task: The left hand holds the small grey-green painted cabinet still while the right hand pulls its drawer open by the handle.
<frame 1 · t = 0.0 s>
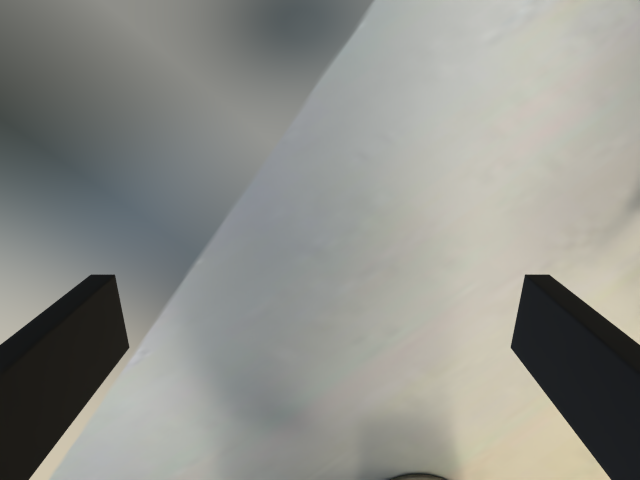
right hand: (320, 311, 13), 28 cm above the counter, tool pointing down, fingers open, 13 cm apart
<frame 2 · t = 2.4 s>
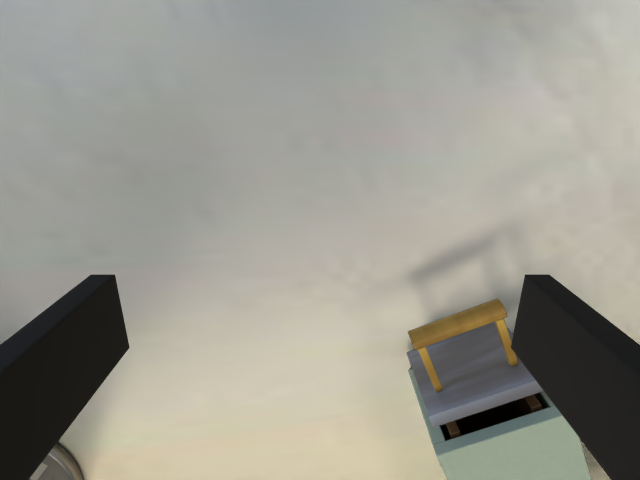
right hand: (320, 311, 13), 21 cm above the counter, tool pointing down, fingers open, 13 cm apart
drawer: (490, 424, 35), point 5 cm above the counter, slide at 1.6 cm
cabinet: (487, 430, 42), on the counter
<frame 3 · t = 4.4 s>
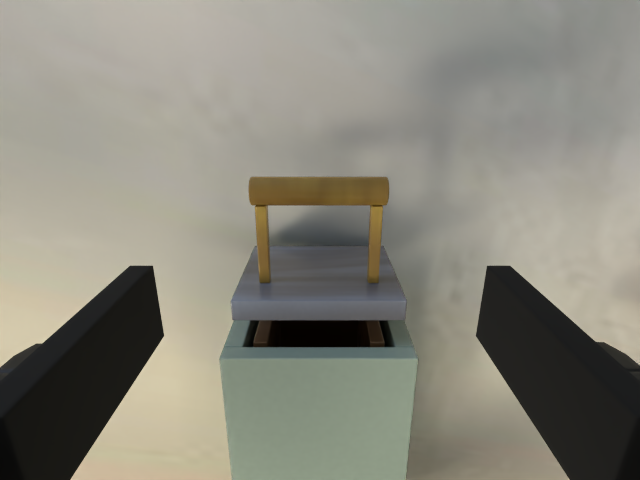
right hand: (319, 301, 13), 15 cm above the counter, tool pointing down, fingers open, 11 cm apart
drawer: (319, 366, 26), point 5 cm above the counter, slide at 1.6 cm
cabinet: (319, 391, 33), on the counter, touching left hand
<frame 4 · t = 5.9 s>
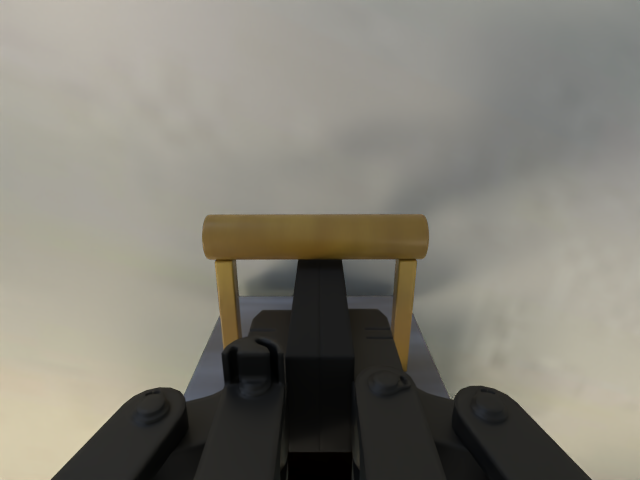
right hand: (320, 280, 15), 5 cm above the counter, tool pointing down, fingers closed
drawer: (317, 468, 19), point 5 cm above the counter, slide at 1.8 cm, touching right hand
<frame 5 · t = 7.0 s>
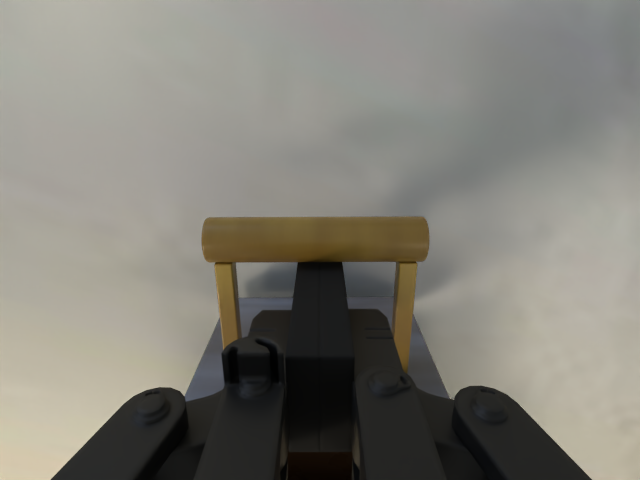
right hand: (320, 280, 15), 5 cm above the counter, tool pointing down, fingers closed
drawer: (317, 470, 19), point 5 cm above the counter, slide at 8.2 cm, touching right hand
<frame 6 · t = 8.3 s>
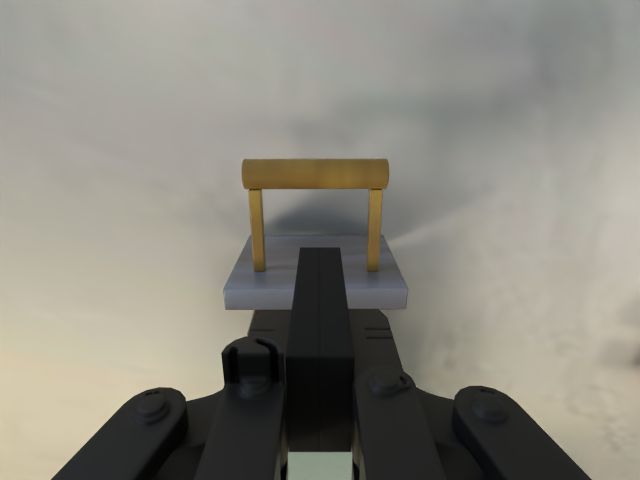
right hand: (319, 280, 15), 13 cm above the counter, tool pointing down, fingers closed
drawer: (316, 359, 25), point 5 cm above the counter, slide at 8.3 cm
cabinet: (317, 448, 35), on the counter, touching left hand
when the left hand's fingers open (5 cm above the counter, at t = 8.8 s): cabinet stays where it is, on the counter.
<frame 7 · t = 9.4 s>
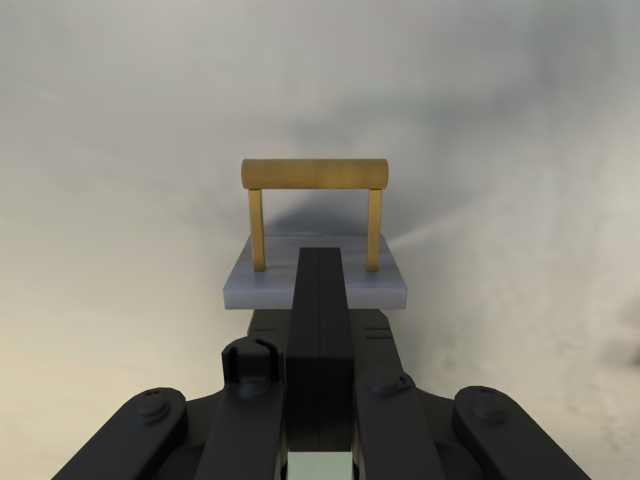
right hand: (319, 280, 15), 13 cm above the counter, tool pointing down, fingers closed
drawer: (316, 359, 25), point 5 cm above the counter, slide at 8.3 cm
cabinet: (317, 448, 35), on the counter
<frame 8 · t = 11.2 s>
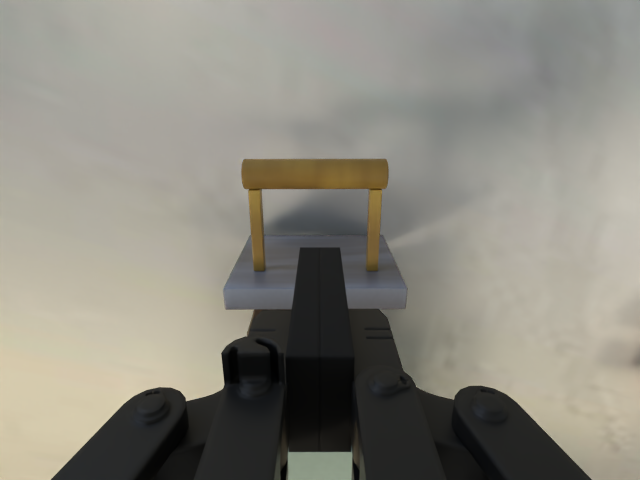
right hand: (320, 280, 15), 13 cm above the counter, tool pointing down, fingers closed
drawer: (316, 359, 25), point 5 cm above the counter, slide at 8.3 cm
cabinet: (317, 448, 35), on the counter
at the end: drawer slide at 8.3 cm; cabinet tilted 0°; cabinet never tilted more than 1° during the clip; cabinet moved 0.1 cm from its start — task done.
